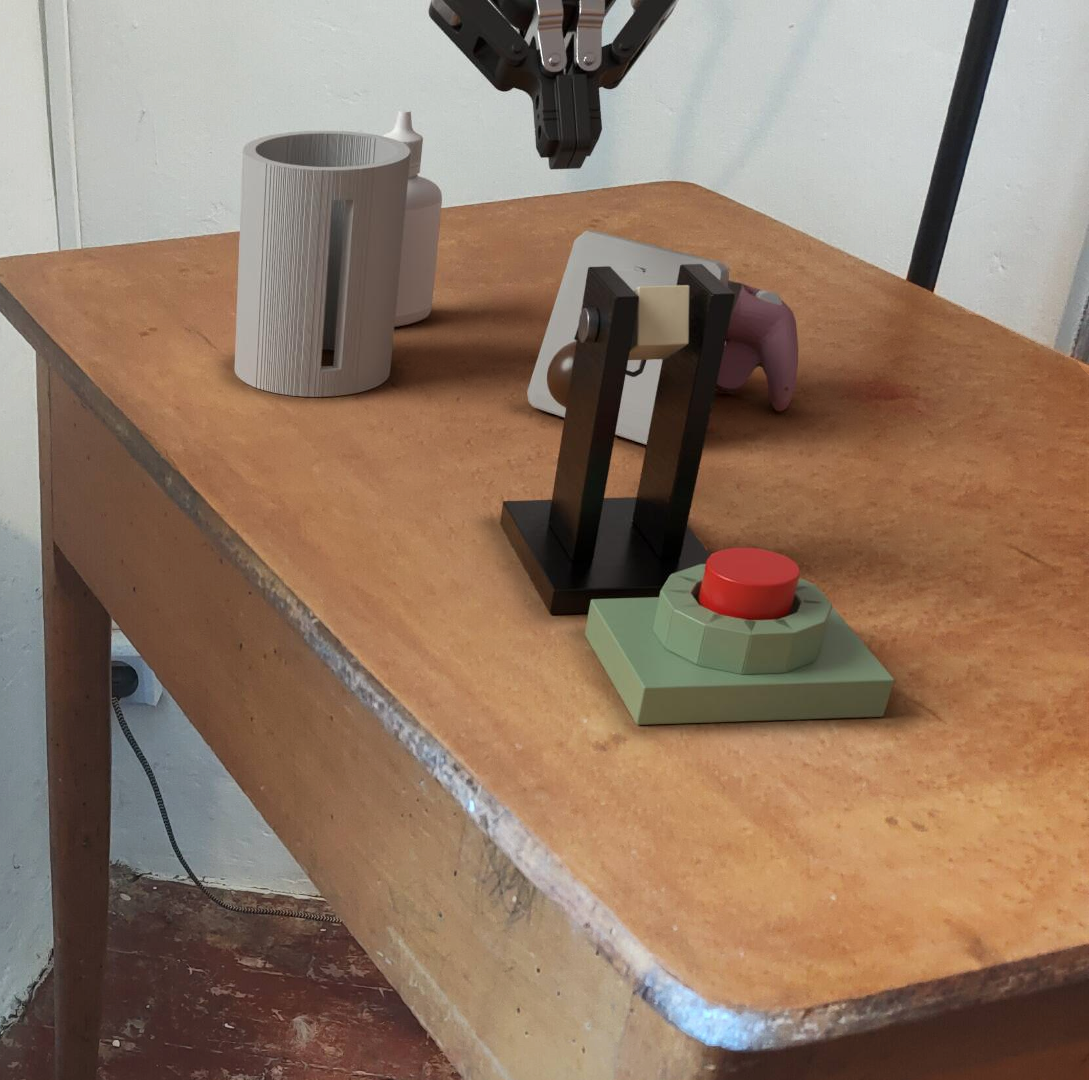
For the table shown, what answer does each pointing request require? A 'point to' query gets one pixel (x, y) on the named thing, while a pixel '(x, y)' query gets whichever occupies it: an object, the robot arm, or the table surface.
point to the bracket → (586, 447)
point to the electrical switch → (637, 270)
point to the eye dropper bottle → (416, 231)
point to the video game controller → (761, 345)
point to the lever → (636, 334)
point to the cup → (319, 260)
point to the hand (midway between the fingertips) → (571, 159)
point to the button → (749, 584)
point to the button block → (733, 659)
